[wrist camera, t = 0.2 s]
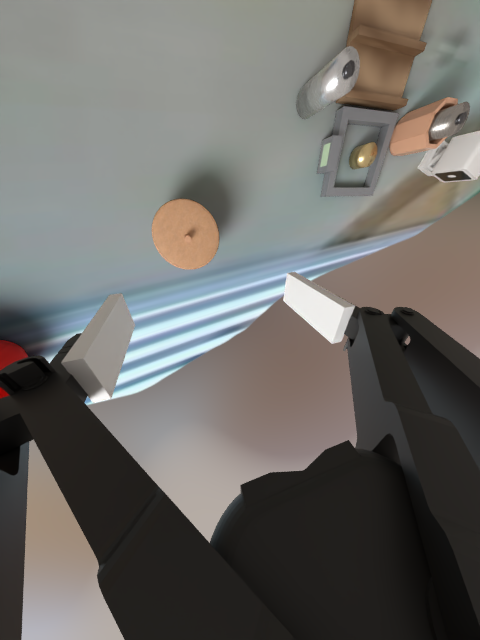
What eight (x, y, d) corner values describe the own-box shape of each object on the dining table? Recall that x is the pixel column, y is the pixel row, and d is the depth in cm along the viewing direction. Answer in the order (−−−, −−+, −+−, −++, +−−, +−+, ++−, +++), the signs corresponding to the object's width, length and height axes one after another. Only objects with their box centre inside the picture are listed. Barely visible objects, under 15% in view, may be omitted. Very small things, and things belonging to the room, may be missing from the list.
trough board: (362, -40, 25) (377, -60, 23) (431, -13, 28) (449, -28, 26) (335, 102, 32) (345, 96, 30) (393, 110, 35) (406, 105, 34)
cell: (298, 82, 29) (342, 39, 22) (318, 86, 30) (368, 45, 23) (294, 118, 32) (333, 90, 24) (314, 120, 32) (357, 94, 25)
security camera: (411, 175, 44) (465, 168, 36) (433, 137, 40) (497, 120, 32) (425, 184, 46) (478, 180, 38) (446, 149, 43) (509, 136, 35)
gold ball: (352, 145, 36) (365, 141, 33) (366, 146, 37) (380, 142, 34) (347, 169, 38) (358, 166, 35) (360, 169, 39) (372, 167, 36)
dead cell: (402, 121, 36) (463, 98, 29) (416, 122, 37) (479, 101, 30) (393, 147, 39) (448, 133, 31) (406, 148, 40) (463, 135, 32)
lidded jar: (220, 221, 37) (232, 225, 29) (198, 267, 40) (204, 282, 33) (168, 185, 31) (166, 179, 24) (148, 243, 35) (140, 253, 27)
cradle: (326, 109, 32) (339, 101, 30) (390, 117, 36) (405, 110, 33) (312, 196, 39) (321, 196, 37) (366, 195, 43) (377, 195, 41)
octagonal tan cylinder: (398, 112, 36) (439, 95, 30) (420, 115, 37) (464, 100, 32) (384, 155, 39) (419, 147, 34) (405, 156, 41) (442, 149, 35)
